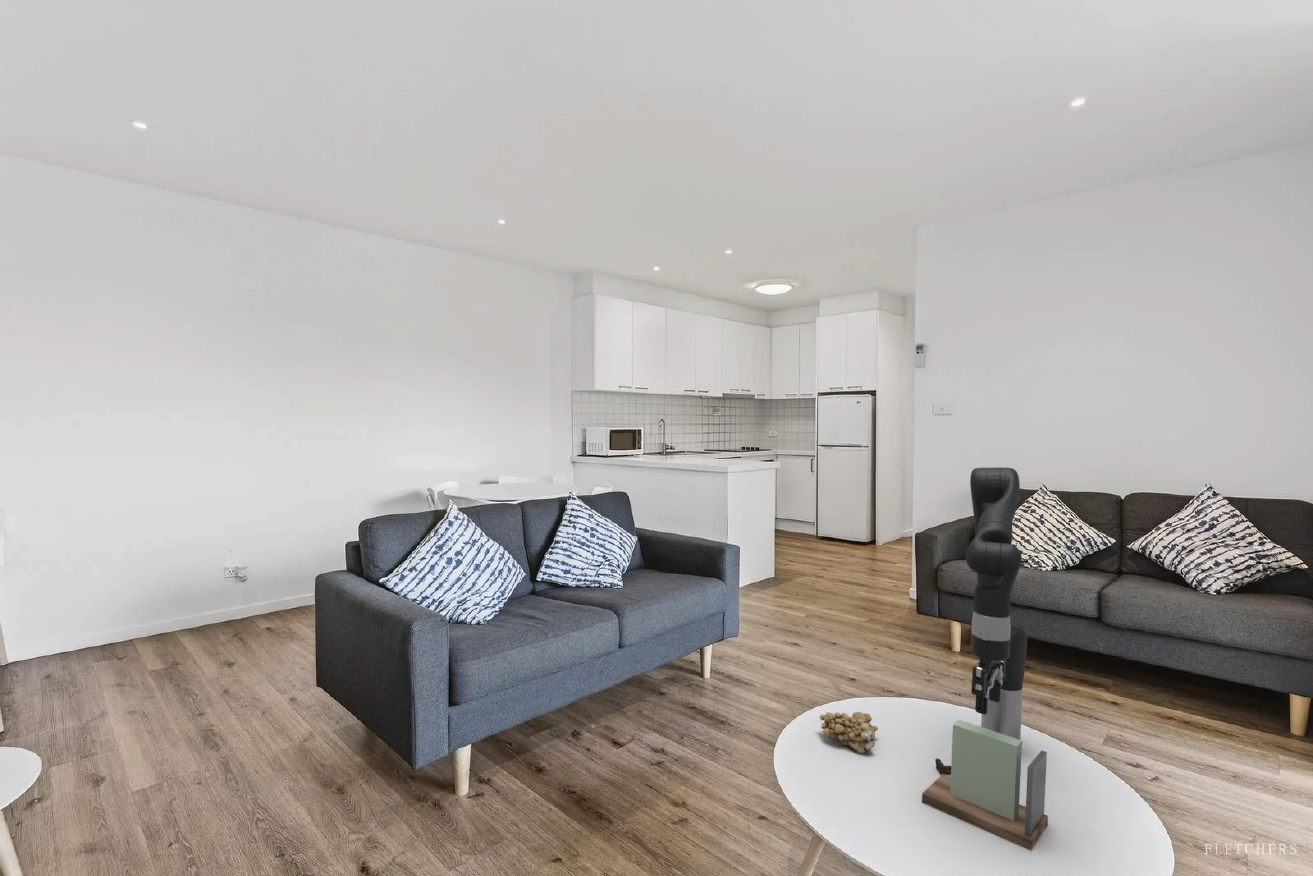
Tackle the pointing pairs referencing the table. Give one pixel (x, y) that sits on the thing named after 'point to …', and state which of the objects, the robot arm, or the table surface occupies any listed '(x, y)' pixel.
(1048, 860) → the table surface
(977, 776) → the sage book
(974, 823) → the walnut shelf board
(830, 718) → the mineral formation
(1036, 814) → the grey metal bookend
